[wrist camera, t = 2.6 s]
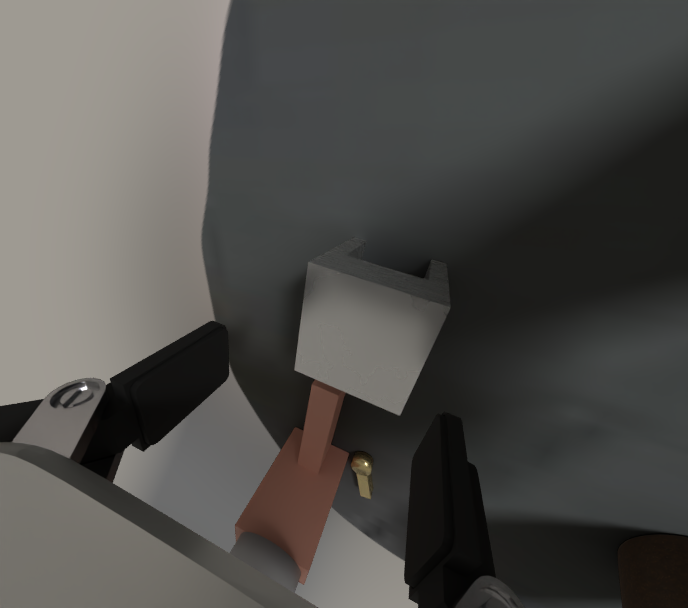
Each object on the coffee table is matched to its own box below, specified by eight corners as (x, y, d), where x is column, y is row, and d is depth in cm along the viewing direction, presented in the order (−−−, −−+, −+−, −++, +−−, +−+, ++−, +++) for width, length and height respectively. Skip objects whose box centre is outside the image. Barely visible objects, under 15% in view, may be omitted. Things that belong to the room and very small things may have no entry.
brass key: (353, 449, 27) (349, 459, 26) (372, 453, 26) (369, 464, 25) (359, 484, 29) (356, 494, 28) (377, 489, 29) (374, 500, 28)
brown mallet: (306, 349, 23) (202, 474, 13) (376, 378, 22) (319, 544, 12) (291, 449, 31) (219, 575, 21) (341, 475, 30) (290, 624, 20)
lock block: (353, 237, 17) (308, 262, 11) (446, 263, 16) (450, 307, 10) (336, 318, 21) (294, 370, 15) (412, 346, 19) (399, 416, 13)
